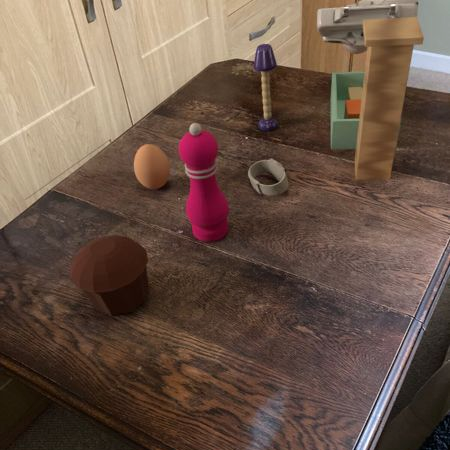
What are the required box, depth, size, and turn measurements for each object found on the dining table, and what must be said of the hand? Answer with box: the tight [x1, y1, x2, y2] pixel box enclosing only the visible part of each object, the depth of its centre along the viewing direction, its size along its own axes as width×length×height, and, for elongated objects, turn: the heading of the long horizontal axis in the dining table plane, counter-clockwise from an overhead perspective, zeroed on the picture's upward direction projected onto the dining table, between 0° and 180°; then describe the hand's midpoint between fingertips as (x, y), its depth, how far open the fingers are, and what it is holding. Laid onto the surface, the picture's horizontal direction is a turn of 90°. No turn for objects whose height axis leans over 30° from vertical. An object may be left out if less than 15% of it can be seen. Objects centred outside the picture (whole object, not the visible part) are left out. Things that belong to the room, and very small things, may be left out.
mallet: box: [344, 87, 363, 119], centre depth 105 cm, size 6×16×5 cm, turn 175°
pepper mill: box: [178, 122, 230, 243], centre depth 79 cm, size 7×7×20 cm
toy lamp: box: [253, 43, 278, 132], centre depth 103 cm, size 5×5×17 cm
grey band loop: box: [247, 157, 290, 196], centre depth 91 cm, size 9×6×5 cm
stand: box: [354, 16, 425, 181], centre depth 83 cm, size 8×8×26 cm
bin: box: [330, 70, 402, 150], centre depth 103 cm, size 13×22×6 cm, turn 172°
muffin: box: [69, 234, 149, 317], centre depth 74 cm, size 12×11×10 cm
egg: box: [133, 143, 171, 190], centre depth 94 cm, size 7×7×9 cm
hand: (369, 9), depth 97 cm, fingers open, 8 cm apart
